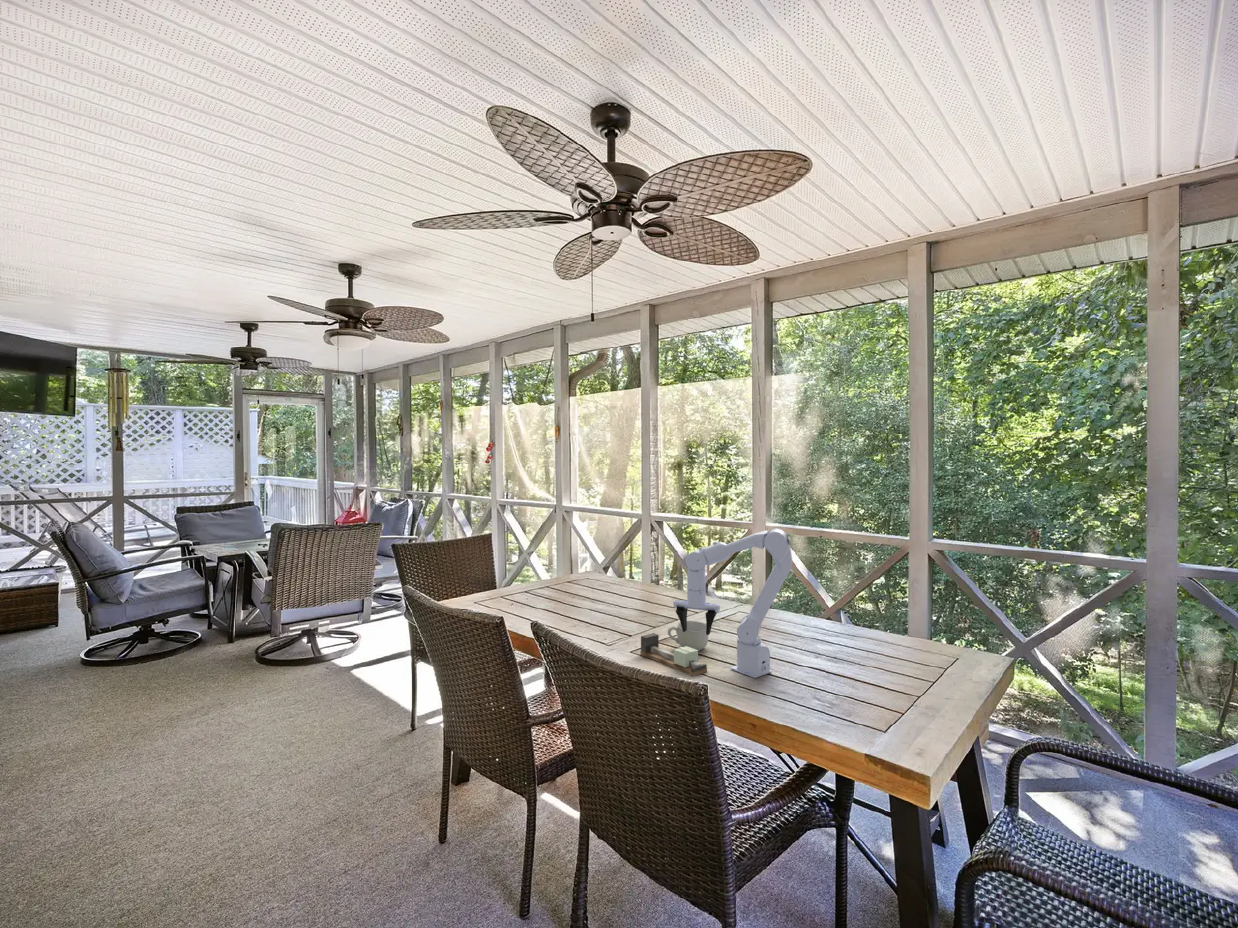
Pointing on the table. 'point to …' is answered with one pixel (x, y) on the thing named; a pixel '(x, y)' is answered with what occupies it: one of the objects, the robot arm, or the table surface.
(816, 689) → the table surface
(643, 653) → the rail
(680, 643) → the teacup
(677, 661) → the carriage
